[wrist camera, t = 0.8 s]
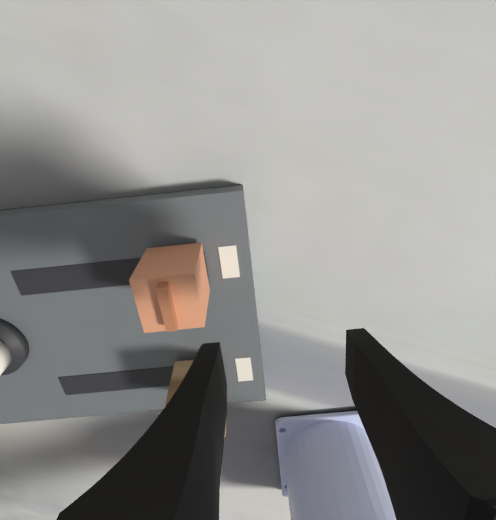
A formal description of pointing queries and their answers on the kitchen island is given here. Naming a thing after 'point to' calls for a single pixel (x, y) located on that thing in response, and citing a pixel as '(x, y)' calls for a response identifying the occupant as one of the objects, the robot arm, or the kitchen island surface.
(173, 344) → the panel
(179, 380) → the oak knob
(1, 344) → the button
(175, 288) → the terracotta knob
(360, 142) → the kitchen island surface
